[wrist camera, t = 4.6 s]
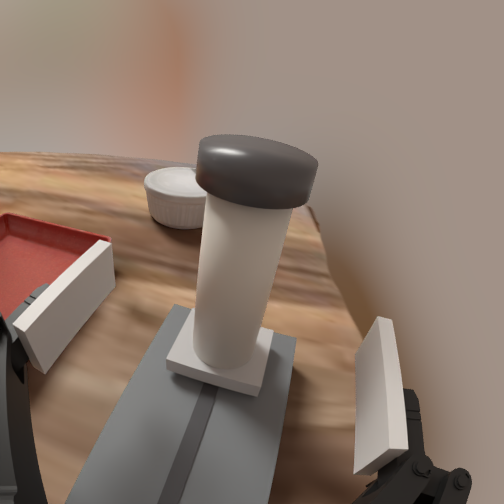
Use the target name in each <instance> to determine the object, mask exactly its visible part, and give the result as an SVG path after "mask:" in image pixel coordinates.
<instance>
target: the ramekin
mask: <svg viewBox="0 0 504 504" xmlns="http://www.w3.org/2000/svg"><path fill="white" fill-rule="evenodd" d="M195 176H196V169H195V168H187V167H171V168H164V169H159V170H156V171H153V172H151V173H150V174H148V175H147V176H146V177H145V180H144V188H145V190H146V194H147V201H148V207H149V211H150V214H151V215H152V217H153V218H154V219H155V220H156V221H157V222H159V223H161V224H162V225H165V226H168V227H171V228H176V229H196V228H200V227H203V221H204V212H205V204H206V196H207V192H206V191H205V190H203V189H202V188H201V187H200V186H199V185H198V184H197V182H196V180H195Z"/></svg>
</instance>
